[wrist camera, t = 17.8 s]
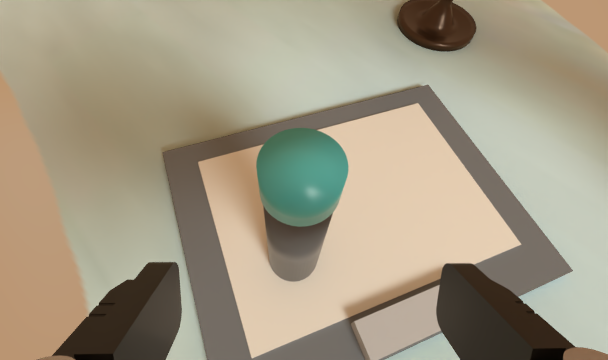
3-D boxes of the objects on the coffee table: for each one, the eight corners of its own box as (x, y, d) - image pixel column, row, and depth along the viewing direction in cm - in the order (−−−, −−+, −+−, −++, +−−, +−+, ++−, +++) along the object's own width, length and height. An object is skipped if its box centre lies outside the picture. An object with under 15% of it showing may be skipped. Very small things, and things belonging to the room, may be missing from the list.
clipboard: (425, 90, 34) (432, 75, 32) (564, 273, 25) (586, 266, 23) (165, 157, 28) (157, 143, 26) (225, 432, 19) (220, 438, 17)
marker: (307, 226, 24) (327, 119, 14) (326, 272, 23) (364, 188, 12) (261, 242, 24) (244, 140, 13) (277, 291, 22) (273, 218, 12)
